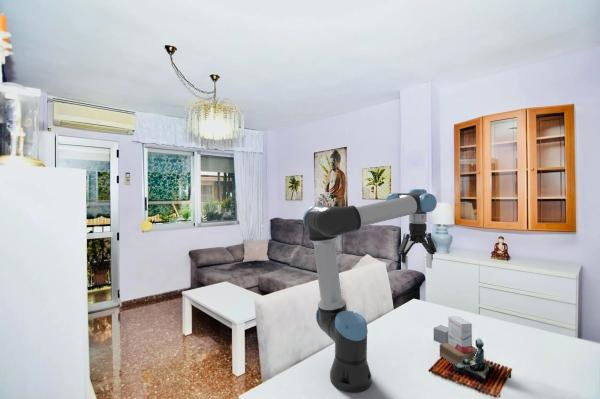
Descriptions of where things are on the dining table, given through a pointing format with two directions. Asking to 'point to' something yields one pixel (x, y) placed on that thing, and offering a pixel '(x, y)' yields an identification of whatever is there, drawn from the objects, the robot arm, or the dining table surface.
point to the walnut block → (455, 353)
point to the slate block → (441, 334)
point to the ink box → (460, 334)
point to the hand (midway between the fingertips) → (417, 268)
